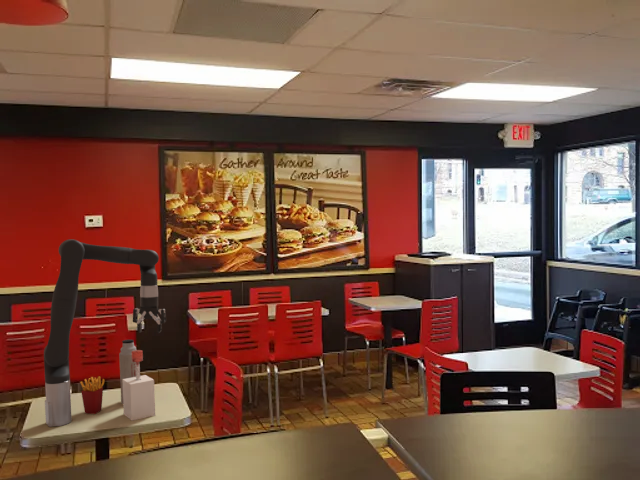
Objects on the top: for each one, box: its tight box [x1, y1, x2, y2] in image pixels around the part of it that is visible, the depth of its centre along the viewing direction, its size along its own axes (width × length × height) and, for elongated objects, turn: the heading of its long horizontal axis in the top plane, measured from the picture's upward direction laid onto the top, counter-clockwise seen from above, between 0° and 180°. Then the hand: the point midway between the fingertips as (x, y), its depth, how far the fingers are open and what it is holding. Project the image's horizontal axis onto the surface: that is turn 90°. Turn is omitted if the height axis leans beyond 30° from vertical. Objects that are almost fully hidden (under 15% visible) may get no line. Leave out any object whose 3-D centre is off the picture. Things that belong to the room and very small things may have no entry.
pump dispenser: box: [122, 374, 156, 421], centre depth 253 cm, size 10×10×15 cm
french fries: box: [79, 376, 106, 415], centre depth 259 cm, size 9×8×15 cm
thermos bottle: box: [119, 339, 137, 405], centre depth 270 cm, size 8×8×28 cm
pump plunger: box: [132, 349, 144, 381], centre depth 252 cm, size 4×4×20 cm
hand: (149, 332), depth 262 cm, fingers open, 8 cm apart
